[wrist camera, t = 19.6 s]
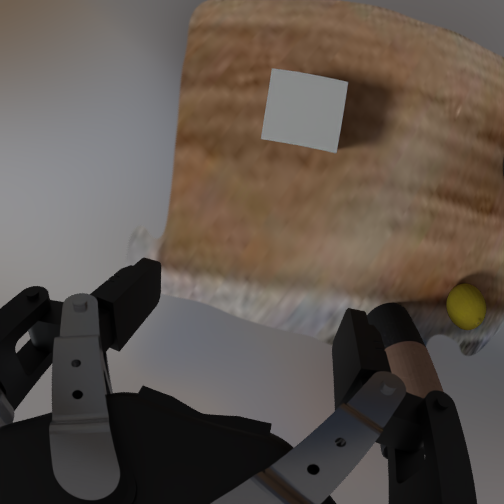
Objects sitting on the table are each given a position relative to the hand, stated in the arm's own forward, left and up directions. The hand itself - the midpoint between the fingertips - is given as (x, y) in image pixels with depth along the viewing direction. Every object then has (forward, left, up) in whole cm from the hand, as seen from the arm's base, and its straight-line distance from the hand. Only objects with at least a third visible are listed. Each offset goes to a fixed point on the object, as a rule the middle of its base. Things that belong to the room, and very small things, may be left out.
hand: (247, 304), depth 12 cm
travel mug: (-18, +14, -23) cm, 32 cm away
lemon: (-27, +7, -23) cm, 36 cm away
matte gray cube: (-1, -10, -23) cm, 25 cm away
